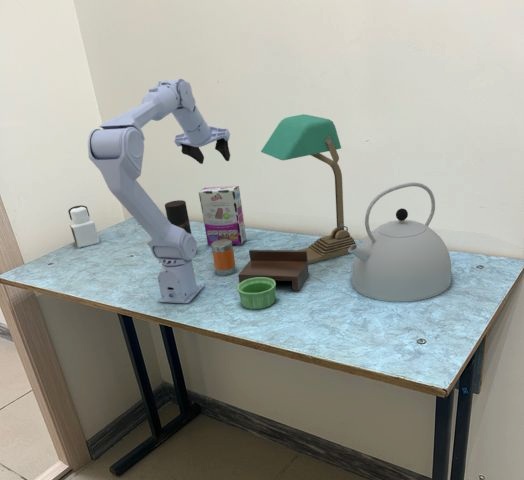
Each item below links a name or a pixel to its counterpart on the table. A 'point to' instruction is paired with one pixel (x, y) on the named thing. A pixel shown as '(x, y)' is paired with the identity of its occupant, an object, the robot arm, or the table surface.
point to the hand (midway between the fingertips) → (215, 159)
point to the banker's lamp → (313, 143)
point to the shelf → (277, 266)
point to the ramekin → (257, 292)
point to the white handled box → (82, 227)
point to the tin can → (223, 257)
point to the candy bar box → (223, 214)
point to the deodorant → (178, 214)
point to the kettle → (401, 258)
